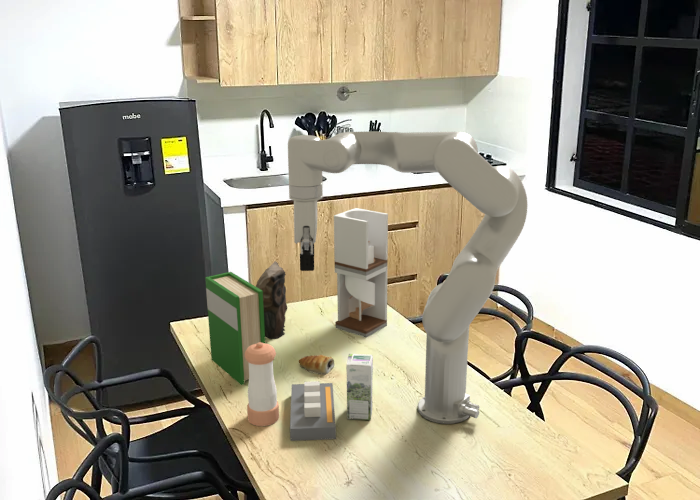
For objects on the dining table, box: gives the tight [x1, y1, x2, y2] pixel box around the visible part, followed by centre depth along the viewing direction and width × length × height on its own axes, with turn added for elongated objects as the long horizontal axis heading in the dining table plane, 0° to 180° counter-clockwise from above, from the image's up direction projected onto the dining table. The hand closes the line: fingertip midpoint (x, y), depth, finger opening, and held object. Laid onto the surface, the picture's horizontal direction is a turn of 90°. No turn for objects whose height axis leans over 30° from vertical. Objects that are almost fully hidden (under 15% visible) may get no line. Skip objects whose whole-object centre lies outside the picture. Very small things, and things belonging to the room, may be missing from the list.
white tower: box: [333, 207, 389, 338], centre depth 209 cm, size 11×11×35 cm
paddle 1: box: [303, 380, 321, 392], centre depth 170 cm, size 1×4×3 cm, turn 94°
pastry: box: [298, 354, 335, 376], centre depth 190 cm, size 9×7×4 cm
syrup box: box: [346, 353, 374, 421], centre depth 165 cm, size 6×6×14 cm
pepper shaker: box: [245, 342, 280, 427], centre depth 163 cm, size 7×7×19 cm
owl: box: [255, 260, 288, 340], centre depth 209 cm, size 13×13×20 cm
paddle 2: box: [304, 403, 321, 417], centre depth 160 cm, size 1×4×3 cm, turn 93°
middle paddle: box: [304, 392, 320, 403], centre depth 165 cm, size 1×4×3 cm, turn 94°
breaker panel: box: [289, 382, 337, 442], centre depth 166 cm, size 20×10×3 cm, turn 3°
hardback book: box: [205, 271, 266, 386], centre depth 186 cm, size 18×7×24 cm, turn 35°
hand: (307, 263), depth 165 cm, fingers open, 9 cm apart
